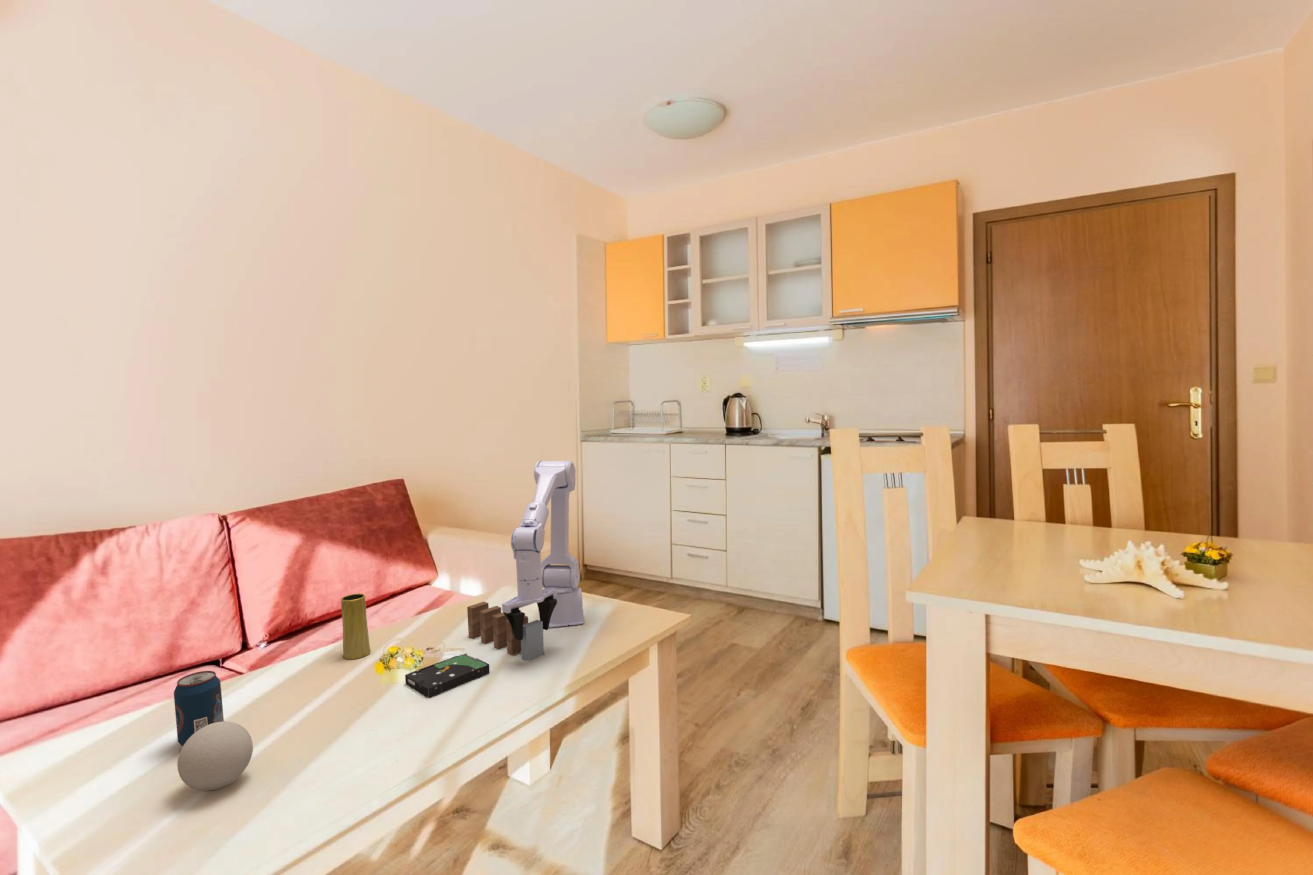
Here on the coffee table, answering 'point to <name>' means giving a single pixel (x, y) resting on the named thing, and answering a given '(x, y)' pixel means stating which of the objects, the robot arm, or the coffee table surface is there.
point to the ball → (215, 756)
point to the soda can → (197, 703)
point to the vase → (354, 626)
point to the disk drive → (446, 675)
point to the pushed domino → (475, 619)
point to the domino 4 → (532, 640)
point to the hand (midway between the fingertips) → (531, 633)
